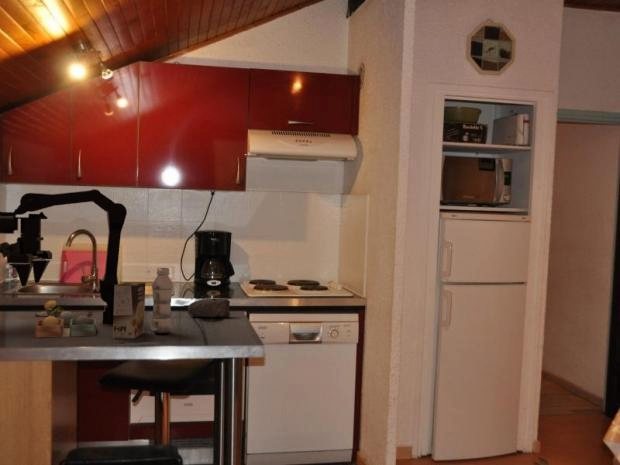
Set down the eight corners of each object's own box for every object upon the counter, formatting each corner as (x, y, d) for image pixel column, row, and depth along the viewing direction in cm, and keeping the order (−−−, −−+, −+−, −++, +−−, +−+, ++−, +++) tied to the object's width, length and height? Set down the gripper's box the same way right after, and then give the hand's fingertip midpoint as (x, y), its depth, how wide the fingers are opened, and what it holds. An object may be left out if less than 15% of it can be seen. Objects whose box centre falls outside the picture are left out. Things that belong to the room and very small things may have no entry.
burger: (69, 320, 197) (70, 298, 197) (31, 320, 194) (32, 298, 194) (75, 315, 209) (75, 294, 209) (39, 315, 206) (40, 294, 206)
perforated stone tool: (186, 318, 210) (187, 298, 209) (188, 315, 215) (189, 297, 215) (228, 319, 210) (229, 300, 210) (229, 317, 215) (230, 298, 215)
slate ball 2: (90, 328, 178) (91, 314, 178) (90, 331, 174) (91, 316, 174) (75, 329, 176) (75, 314, 176) (74, 331, 172) (75, 316, 172)
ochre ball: (58, 329, 175) (59, 314, 174) (57, 332, 170) (58, 317, 170) (42, 330, 173) (42, 315, 173) (41, 332, 169) (41, 317, 169)
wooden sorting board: (94, 326, 187) (95, 314, 187) (95, 338, 168) (96, 324, 168) (39, 328, 181) (40, 315, 181) (34, 340, 162) (34, 326, 162)
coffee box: (134, 342, 166) (135, 285, 165) (111, 341, 166) (113, 284, 166) (144, 335, 175) (145, 282, 175) (123, 335, 175) (124, 281, 175)
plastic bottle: (153, 335, 175) (155, 269, 175) (148, 331, 181) (150, 267, 181) (174, 334, 178) (176, 269, 178) (168, 330, 184) (170, 267, 184)
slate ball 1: (75, 324, 183) (75, 311, 183) (75, 327, 179) (75, 313, 179) (60, 325, 181) (60, 311, 181) (59, 327, 177) (59, 313, 177)
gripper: (17, 232, 188) (17, 281, 189) (-12, 234, 170) (-12, 287, 170) (52, 233, 189) (52, 281, 189) (27, 234, 170) (27, 288, 171)
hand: (30, 284), depth 180 cm, fingers open, 9 cm apart
